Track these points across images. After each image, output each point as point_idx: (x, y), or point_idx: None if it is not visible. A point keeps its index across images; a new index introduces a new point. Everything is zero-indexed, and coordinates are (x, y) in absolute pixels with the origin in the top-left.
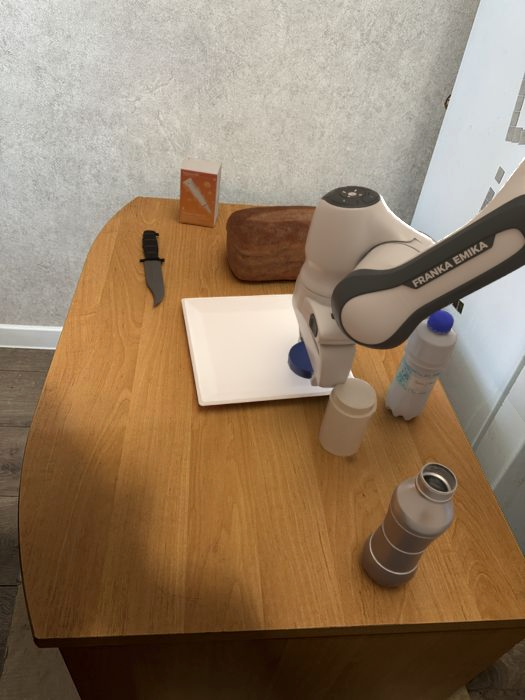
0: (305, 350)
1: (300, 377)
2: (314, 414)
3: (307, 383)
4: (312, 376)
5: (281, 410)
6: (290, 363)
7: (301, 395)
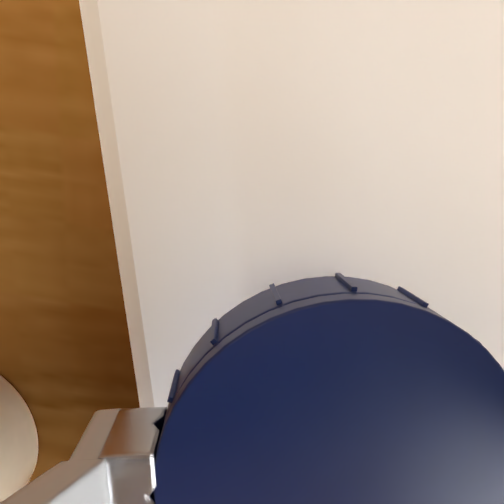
0: (417, 447)
1: None
2: (80, 353)
3: None
4: (81, 464)
5: (100, 194)
6: (299, 294)
7: (133, 316)
